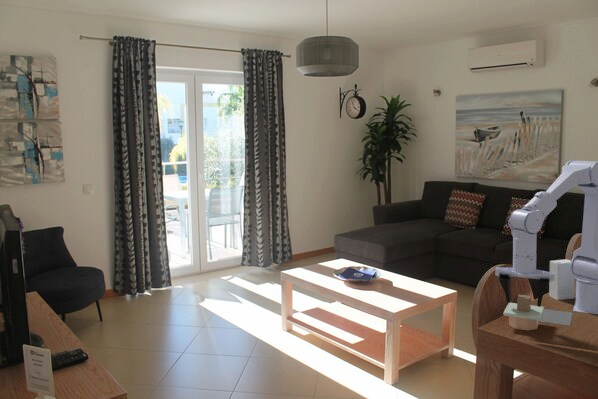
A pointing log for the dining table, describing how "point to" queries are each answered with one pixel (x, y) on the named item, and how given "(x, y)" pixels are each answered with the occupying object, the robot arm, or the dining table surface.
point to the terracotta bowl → (523, 323)
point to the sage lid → (523, 309)
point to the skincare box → (561, 280)
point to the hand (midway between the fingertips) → (523, 303)
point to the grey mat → (556, 317)
